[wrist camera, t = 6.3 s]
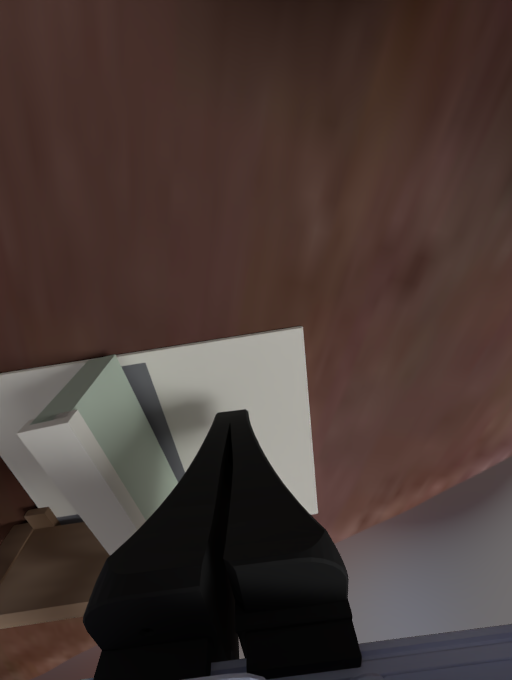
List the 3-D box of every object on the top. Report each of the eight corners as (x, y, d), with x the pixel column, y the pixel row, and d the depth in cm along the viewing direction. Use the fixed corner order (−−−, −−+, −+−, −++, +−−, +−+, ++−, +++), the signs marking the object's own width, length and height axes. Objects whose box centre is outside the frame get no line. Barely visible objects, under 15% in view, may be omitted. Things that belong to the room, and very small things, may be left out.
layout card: (71, 547, 19) (69, 551, 19) (-49, 381, 13) (-54, 383, 13) (317, 510, 19) (318, 513, 19) (301, 325, 13) (303, 327, 13)
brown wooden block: (33, 549, 18) (-21, 645, 15) (4, 513, 17) (-67, 609, 13) (173, 528, 18) (156, 618, 14) (156, 490, 17) (132, 579, 13)
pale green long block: (199, 518, 18) (188, 608, 14) (173, 523, 18) (155, 615, 14) (119, 353, 13) (67, 422, 9) (83, 361, 13) (16, 433, 9)
